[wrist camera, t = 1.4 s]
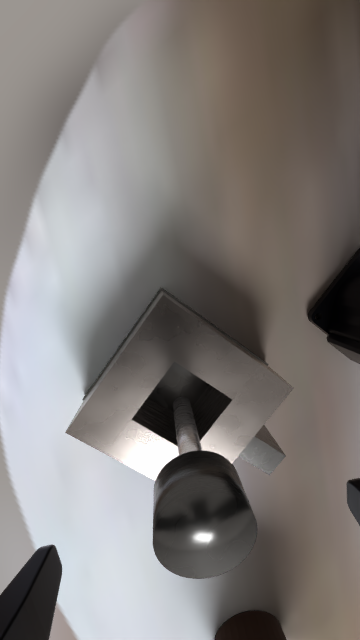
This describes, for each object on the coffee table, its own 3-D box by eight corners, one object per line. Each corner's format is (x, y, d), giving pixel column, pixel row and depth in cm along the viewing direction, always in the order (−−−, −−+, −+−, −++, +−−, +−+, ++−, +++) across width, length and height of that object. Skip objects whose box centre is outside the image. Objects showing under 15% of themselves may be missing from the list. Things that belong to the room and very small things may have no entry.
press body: (161, 287, 16) (162, 292, 12) (292, 381, 18) (329, 411, 14) (84, 395, 17) (62, 433, 13) (218, 472, 19) (233, 524, 15)
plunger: (175, 370, 13) (195, 474, 6) (218, 397, 14) (277, 520, 7) (144, 411, 14) (131, 553, 7) (187, 437, 14) (215, 592, 7)
